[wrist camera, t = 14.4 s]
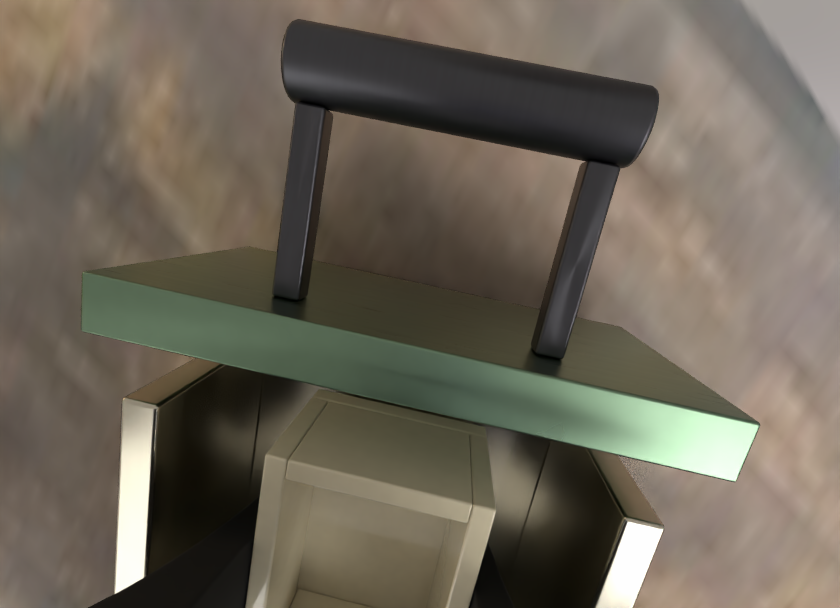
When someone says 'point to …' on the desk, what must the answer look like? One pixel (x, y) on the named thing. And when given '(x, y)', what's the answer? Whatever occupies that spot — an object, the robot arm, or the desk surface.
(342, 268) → the drawer
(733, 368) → the desk surface
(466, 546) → the open wooden box
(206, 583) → the robot arm
